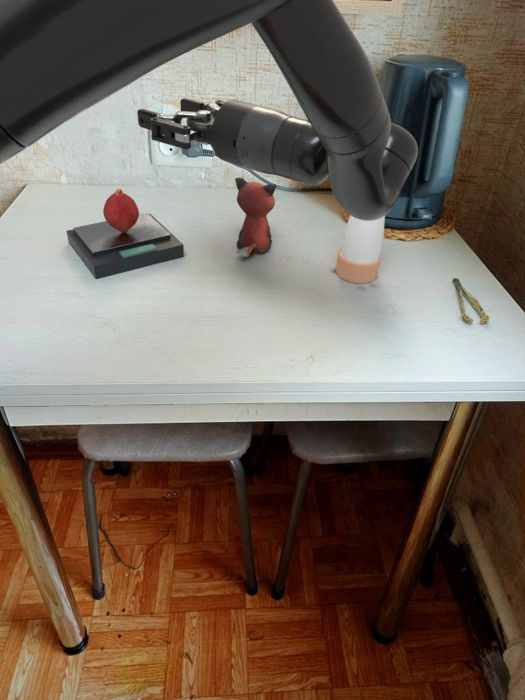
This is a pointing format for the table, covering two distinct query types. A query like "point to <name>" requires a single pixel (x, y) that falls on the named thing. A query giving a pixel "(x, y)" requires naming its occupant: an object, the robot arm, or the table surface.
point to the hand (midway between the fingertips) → (161, 111)
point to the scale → (124, 246)
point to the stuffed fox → (254, 215)
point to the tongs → (473, 301)
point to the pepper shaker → (360, 250)
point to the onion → (121, 211)
